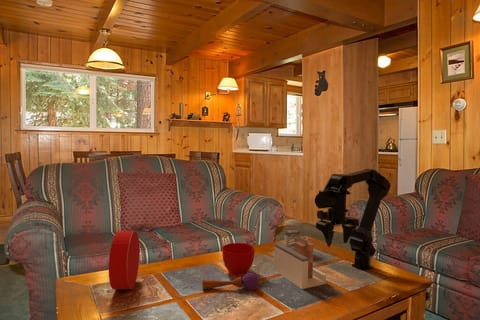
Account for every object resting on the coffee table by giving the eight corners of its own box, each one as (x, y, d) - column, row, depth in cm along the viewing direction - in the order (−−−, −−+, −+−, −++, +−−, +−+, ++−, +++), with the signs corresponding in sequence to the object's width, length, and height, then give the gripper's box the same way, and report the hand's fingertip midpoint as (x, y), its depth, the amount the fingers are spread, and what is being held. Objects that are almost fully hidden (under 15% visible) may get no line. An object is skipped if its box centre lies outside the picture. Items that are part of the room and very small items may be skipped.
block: (304, 273, 134) (305, 236, 133) (312, 277, 129) (313, 240, 128) (294, 275, 131) (295, 238, 130) (301, 280, 127) (302, 241, 126)
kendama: (203, 274, 124) (257, 270, 124) (204, 291, 123) (258, 287, 124) (201, 278, 118) (258, 274, 118) (202, 295, 117) (259, 291, 118)
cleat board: (296, 266, 143) (297, 240, 143) (325, 283, 126) (326, 254, 126) (274, 270, 139) (274, 243, 138) (301, 289, 122) (302, 259, 121)
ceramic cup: (252, 262, 147) (252, 240, 146) (255, 279, 130) (255, 253, 129) (222, 262, 146) (222, 239, 146) (221, 278, 129) (221, 253, 129)
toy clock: (124, 275, 131) (123, 224, 130) (139, 275, 132) (139, 224, 130) (108, 300, 111) (108, 240, 110) (127, 299, 112) (126, 240, 110)
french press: (281, 247, 168) (282, 197, 167) (305, 248, 167) (306, 198, 165) (282, 253, 158) (283, 201, 157) (307, 255, 157) (308, 201, 156)
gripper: (339, 200, 145) (337, 236, 146) (306, 204, 135) (305, 242, 136) (360, 205, 136) (358, 243, 137) (327, 209, 126) (325, 251, 127)
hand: (337, 244), depth 134 cm, fingers open, 9 cm apart
